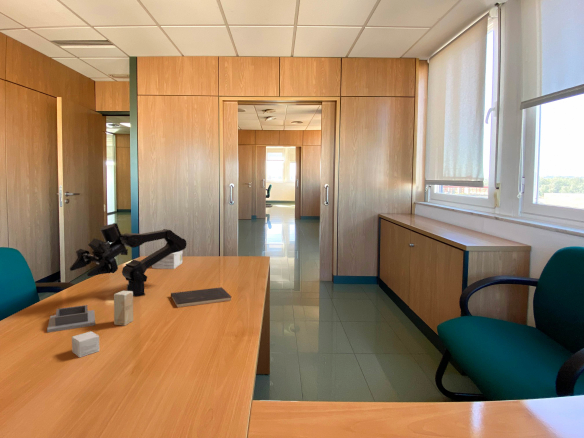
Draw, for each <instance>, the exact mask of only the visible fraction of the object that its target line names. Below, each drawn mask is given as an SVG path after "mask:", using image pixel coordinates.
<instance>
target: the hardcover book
mask: <svg viewBox="0 0 584 438" xmlns="http://www.w3.org/2000/svg"><path fill="white" fill-rule="evenodd" d="M170 297H171V299H172V300H173V302H174V304H175V306H176V307H177V308H184V307H191V306H198V305H206V304H213V303H214V304H215V303H221V302H229V301H232V296H231V294H229V293H228V292H227V291H226V290H225V289H224V288H223V287H214V288H213V287H212V288H204V289H203V288H202V289H195V290H186V291H177V292H170Z"/></svg>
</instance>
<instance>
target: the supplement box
mask: <svg viewBox="0 0 584 438" xmlns="http://www.w3.org/2000/svg"><path fill="white" fill-rule="evenodd" d="M183 252H184V250H182V251H179V252H175V253H171V254H170V255H168V256H167V257H165V258H163V259H162V260H160V261H159V262H157V263H156V264H154V265H152V266H151V268H152V269H159V270H160V269H161V270H164V269H165V270H167V269H168V270H175V269H176V268H177V267H179V266H180V265H182V264H183V256H184V255H183V254H184V253H183ZM153 253H154V252H152V253H151V254H153Z"/></svg>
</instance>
